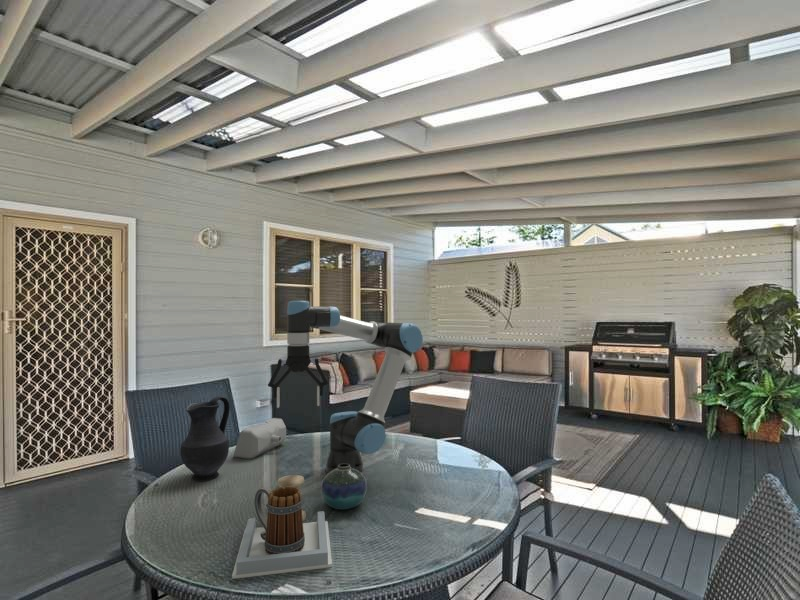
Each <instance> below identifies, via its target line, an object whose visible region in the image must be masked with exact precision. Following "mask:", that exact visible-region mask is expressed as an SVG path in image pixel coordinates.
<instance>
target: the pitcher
mask: <svg viewBox="0 0 800 600" xmlns="http://www.w3.org/2000/svg"><path fill="white" fill-rule="evenodd" d="M219 400H220V401H222V403H223V413H222V418H221V421H220V423H219V424H218V422H217V421H218V420H217V417H216V416H217V411H218V408H219V407H220V405H221V403H220V402H219ZM230 406H231V405H230V401H229V400H228V398H227V397H224V396H220V395H218V396H215V397H213V398H212V399H211V400H210V401H202V402H201V401H200V402H195V403H189V405H188V406H187V407H186V410H185V411H186V412H187V413H188V416H189V417H190V424H189V430H188V433H187V436H186V438H185V439H184V440H183V441H182V443H181V444H180V457H181V458H180V459H181V461H182V463H183V464H184V466H185V467H186V468H187V469H188V470H189V471H191V472H192V473H193V474H192V476H191V480H192V481H195V482H206V481H212V480H214V479H216V478H218V477H219V475H220V473H219V472H218V471H219V470H220V469H221V467H222V466H223V465H224V464H225V462H226V460H227V459H228V456H229V452H230V451H229V450H230V442H229V438H228V437H227V436H226V434H225V433H226V427H227V425H228V419H229V415H230V411H231V410H230V409H231V407H230Z"/></svg>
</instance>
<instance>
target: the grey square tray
mask: <svg viewBox="0 0 800 600" xmlns="http://www.w3.org/2000/svg"><path fill="white" fill-rule="evenodd" d="M256 520H257V519H256V517H249V518H248V519H247V523H246V527H245V529H244V531H243V535H242V538H241V542H240V546H239V549H238V552H237V553H238V554H237V555H236V560H235V564H234V568H233V571H232V575H231V579H232V580H234V579H243V578H249V577H258V576H259V577H262V576H268V575H277V574H278V575H279V574H285V573H286V574H287V573H295V572H300V571H311V570H319V569H320V570H321V569H328V568H333V561H332V552H331V544H330V543H331V542H330V531H329V523H328V520H326V516H325V511H323V510H322V511H317V521H312V522H303V532H304V537H305V542H304V547H303V548H302V549H301V550H300V551H299V552H290V553H280V554H271V555H269V554H268V553H267V552H266V551H265V540H263V539H262V538H261V535H260V533H261V532H263V531H265V529H264V527H263V526H260V527H257V526H256V525H257V523H256Z"/></svg>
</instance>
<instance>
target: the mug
mask: <svg viewBox="0 0 800 600" xmlns="http://www.w3.org/2000/svg"><path fill="white" fill-rule="evenodd" d="M262 494H265V495H266V497H267V503H266V504H265V507H266V509H267V516H266V515H265V513H264V511H263V507H262ZM301 495H302V494H301V490H300V488H296V487H291V488H290V486H286V487H285V488H284V487H280V486H278V488H273V489H271V488H270V487H267V486H264V487H261V488H260V489H257V491H256V492H255V494H254V501H253V503H254V509H255V513H256V516H257V518H258V521H259V522H260V525H262V527H264V529H265V531H263V532H261V533H260V535H261V538H262V539H263V540H265V551H266V552H267V553H268V554H269V555H271V554H280V553H290V552H299V551H300V550H301V549H302V548H303V547H304V542H305V537H304V532H303V523H304V521H303V519H302V510H303V499H302V496H301Z"/></svg>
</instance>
